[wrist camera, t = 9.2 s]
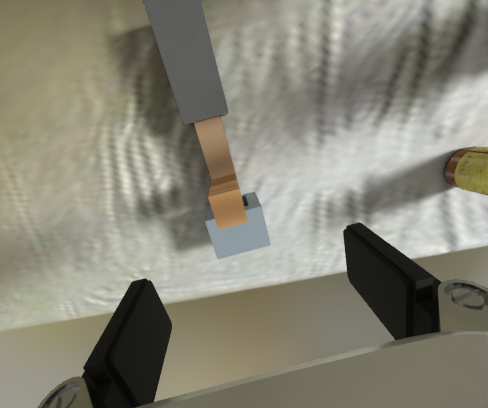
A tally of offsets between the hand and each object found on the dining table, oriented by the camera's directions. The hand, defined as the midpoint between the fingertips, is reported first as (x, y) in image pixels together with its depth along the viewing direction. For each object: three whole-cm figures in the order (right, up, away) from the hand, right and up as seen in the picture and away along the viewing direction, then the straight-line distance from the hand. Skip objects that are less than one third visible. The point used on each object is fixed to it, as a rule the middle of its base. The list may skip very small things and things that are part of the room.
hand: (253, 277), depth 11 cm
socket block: (-2, +2, +23) cm, 23 cm away
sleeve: (-6, +19, +16) cm, 26 cm away
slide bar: (-4, +9, +19) cm, 22 cm away
